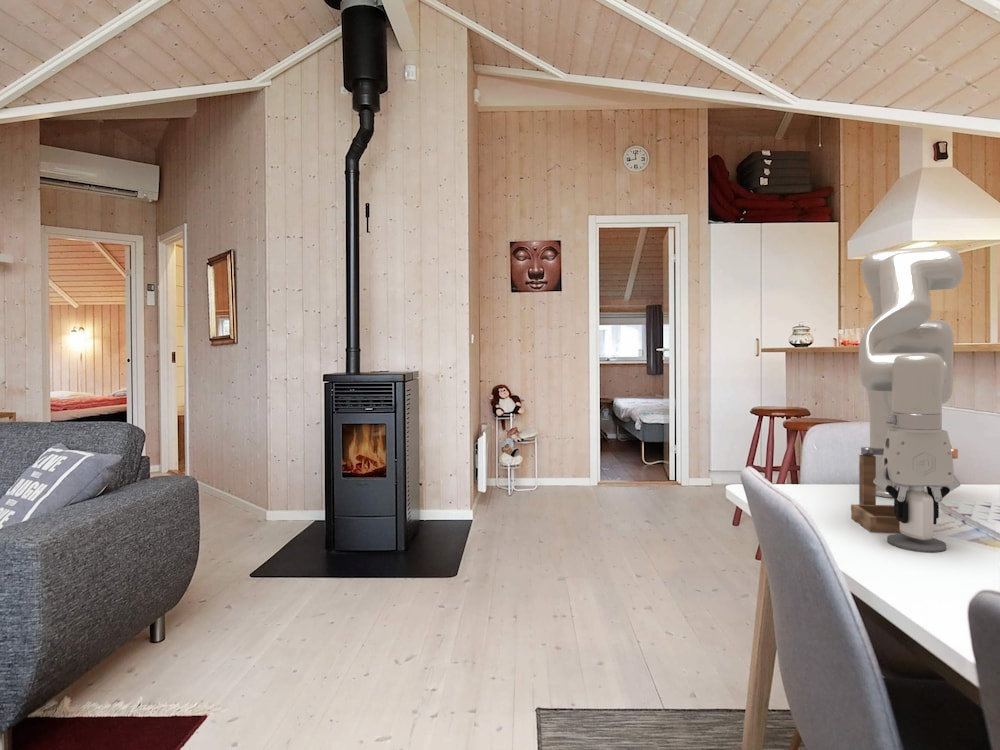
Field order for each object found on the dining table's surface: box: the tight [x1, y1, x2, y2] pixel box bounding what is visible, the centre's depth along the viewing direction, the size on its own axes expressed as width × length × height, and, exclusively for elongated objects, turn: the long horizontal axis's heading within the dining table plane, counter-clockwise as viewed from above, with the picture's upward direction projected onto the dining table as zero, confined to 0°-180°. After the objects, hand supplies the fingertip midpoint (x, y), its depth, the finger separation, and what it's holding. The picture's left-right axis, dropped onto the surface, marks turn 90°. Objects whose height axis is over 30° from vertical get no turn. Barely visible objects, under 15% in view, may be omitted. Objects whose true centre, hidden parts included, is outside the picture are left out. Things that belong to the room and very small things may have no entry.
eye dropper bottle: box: [900, 486, 934, 540], centre depth 111 cm, size 4×6×12 cm
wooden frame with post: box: [850, 454, 902, 534], centre depth 126 cm, size 16×10×13 cm, turn 169°
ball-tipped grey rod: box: [860, 446, 959, 460], centre depth 130 cm, size 18×2×2 cm, turn 71°
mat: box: [886, 533, 947, 553], centre depth 111 cm, size 9×9×1 cm
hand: (916, 520), depth 111 cm, fingers closed on eye dropper bottle, 4 cm apart
